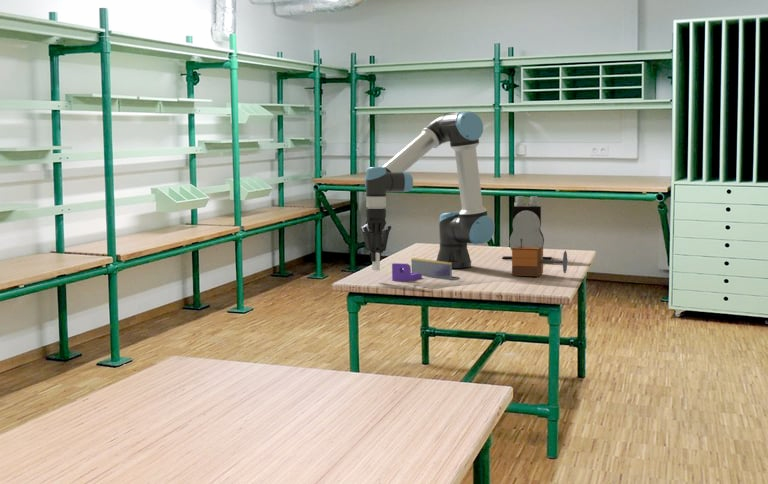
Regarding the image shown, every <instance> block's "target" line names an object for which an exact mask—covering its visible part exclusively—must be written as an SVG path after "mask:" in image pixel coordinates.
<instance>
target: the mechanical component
mask: <svg viewBox="0 0 768 484" xmlns="http://www.w3.org/2000/svg"><path fill="white" fill-rule="evenodd" d="M515 198H516V199H515V200H516V202H514V203H513V204H514V205H513V206H512V229H513V230H512V233H511V235H510V237H509V247H510V250H511V251H512V248H514V247H517V246H521V241H520V239H523V240H522V246H536V247H543V248H544V245H545V244H544V243H545V237H544V234H543V232H542V231H541V227H542V206H541V204H540V203H541V202H539V201H538V200H539V199H538V196H537V195H535V196H530V201H529V202H528V203H526V202H525V201H524V199H525V196H523V195H522V196H521V195H518V196H516V197H515ZM526 204H527V205H528V206H527V205H526ZM502 259H512V255H511V256H508V255H507V256H504V255H503V256H502V257H501V260H502ZM543 259H549V260H551V259H552V260H553V257H552V256H543Z"/></svg>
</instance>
